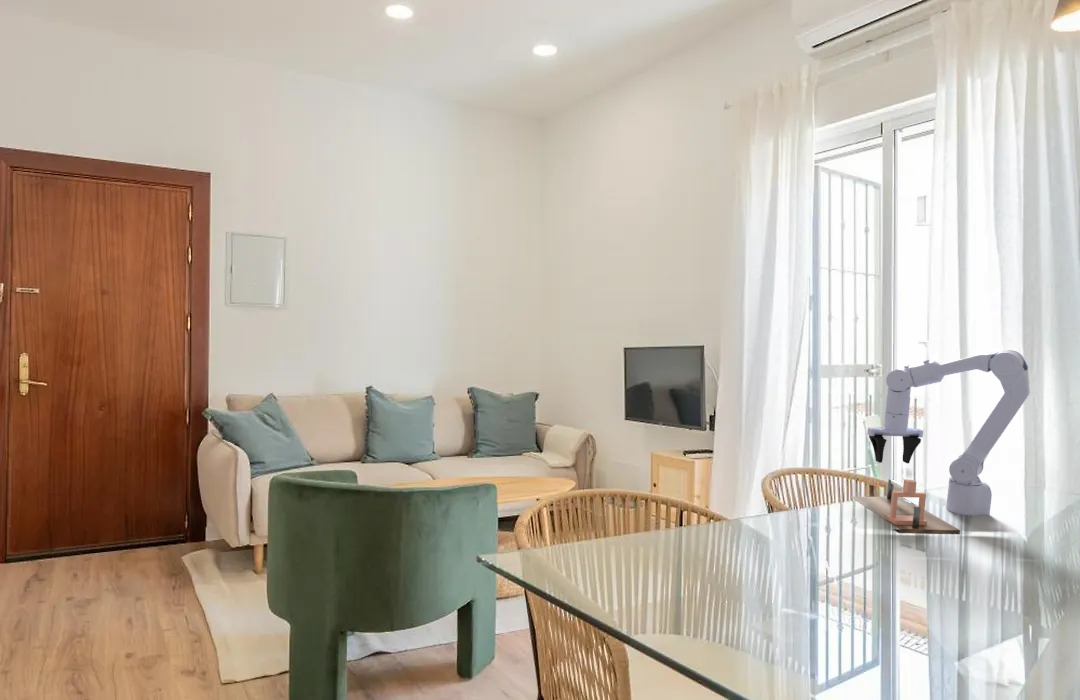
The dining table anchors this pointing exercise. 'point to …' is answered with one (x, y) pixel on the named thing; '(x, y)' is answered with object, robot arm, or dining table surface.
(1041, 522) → the dining table surface
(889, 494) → the bent wire
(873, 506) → the base board
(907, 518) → the frame
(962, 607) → the dining table surface
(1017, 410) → the robot arm
